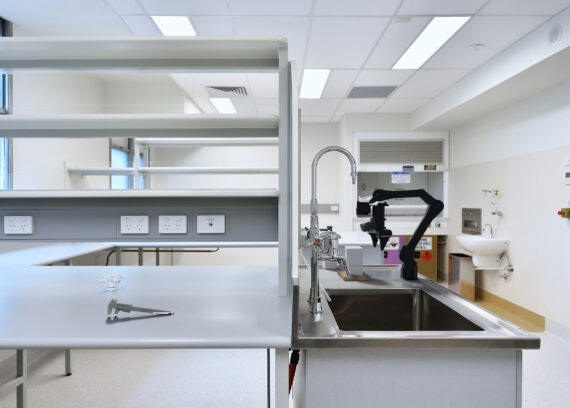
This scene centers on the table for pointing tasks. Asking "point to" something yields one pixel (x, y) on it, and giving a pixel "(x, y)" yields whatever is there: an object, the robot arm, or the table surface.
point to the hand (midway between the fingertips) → (378, 248)
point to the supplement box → (354, 259)
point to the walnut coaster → (353, 276)
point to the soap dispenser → (326, 263)
